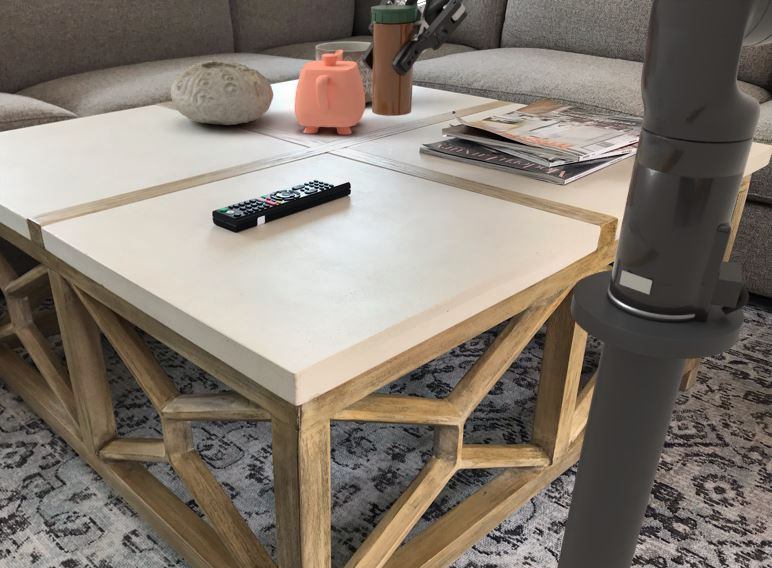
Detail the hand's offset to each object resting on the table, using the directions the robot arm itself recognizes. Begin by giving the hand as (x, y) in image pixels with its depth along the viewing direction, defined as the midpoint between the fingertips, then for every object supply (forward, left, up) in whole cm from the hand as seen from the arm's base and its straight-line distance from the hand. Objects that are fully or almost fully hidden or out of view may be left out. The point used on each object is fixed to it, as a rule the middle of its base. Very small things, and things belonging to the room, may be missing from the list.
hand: (382, 68), depth 94 cm
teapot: (+18, -25, -15) cm, 35 cm away
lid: (-1, -2, +7) cm, 7 cm away
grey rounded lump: (+37, -21, -15) cm, 46 cm away
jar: (-1, -2, -6) cm, 6 cm away
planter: (+23, -45, -15) cm, 53 cm away
